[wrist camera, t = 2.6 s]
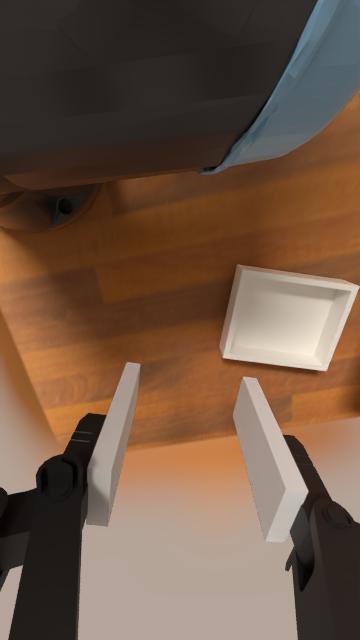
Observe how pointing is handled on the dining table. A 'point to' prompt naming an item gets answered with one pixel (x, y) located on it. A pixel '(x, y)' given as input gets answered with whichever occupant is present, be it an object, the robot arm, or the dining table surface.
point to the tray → (285, 317)
